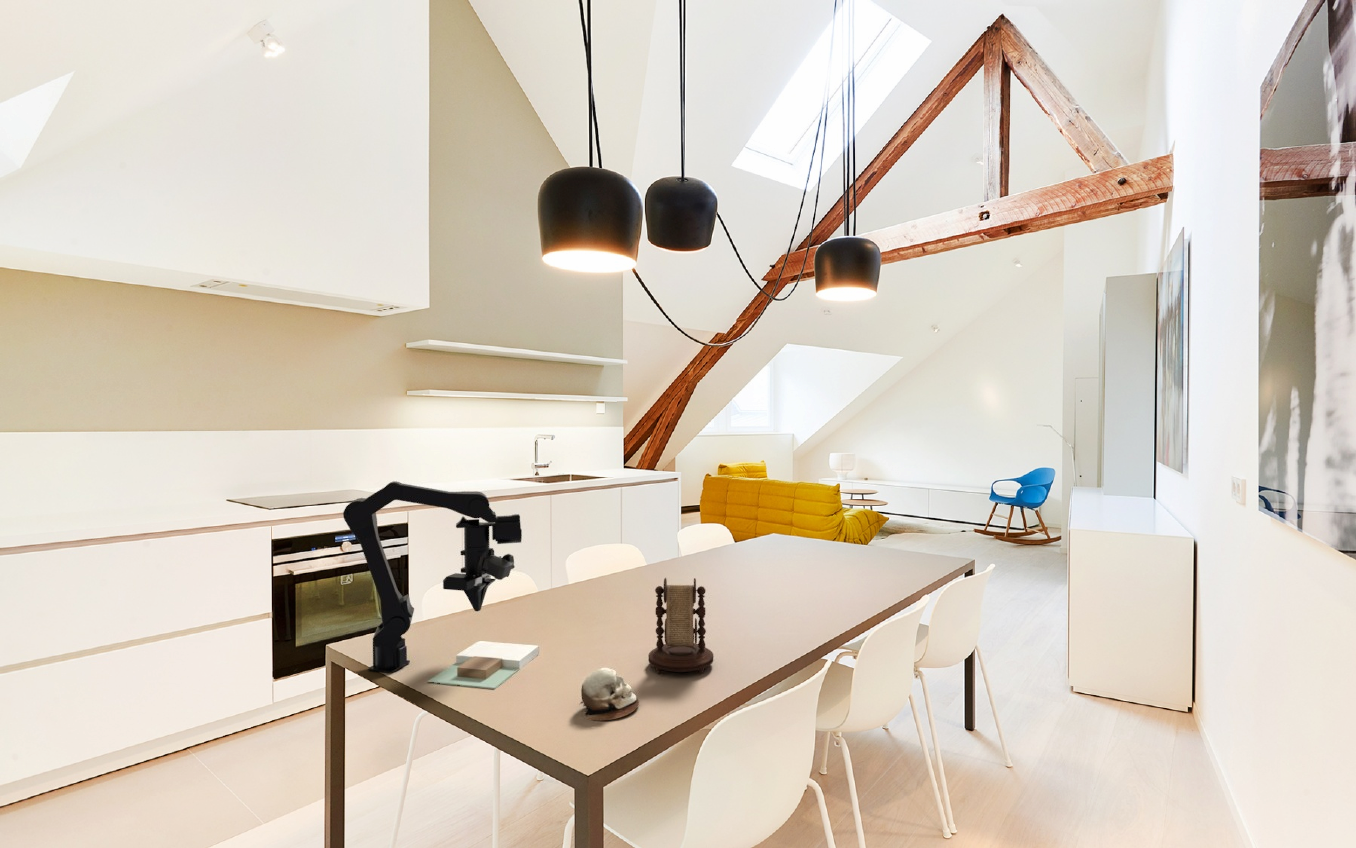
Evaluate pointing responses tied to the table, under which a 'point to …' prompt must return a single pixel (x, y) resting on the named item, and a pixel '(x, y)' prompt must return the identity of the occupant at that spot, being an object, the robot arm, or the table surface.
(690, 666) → the scroll
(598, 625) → the table surface
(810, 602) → the table surface
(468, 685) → the mat
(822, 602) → the table surface
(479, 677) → the tile
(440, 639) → the table surface
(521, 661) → the plate
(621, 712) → the skull
